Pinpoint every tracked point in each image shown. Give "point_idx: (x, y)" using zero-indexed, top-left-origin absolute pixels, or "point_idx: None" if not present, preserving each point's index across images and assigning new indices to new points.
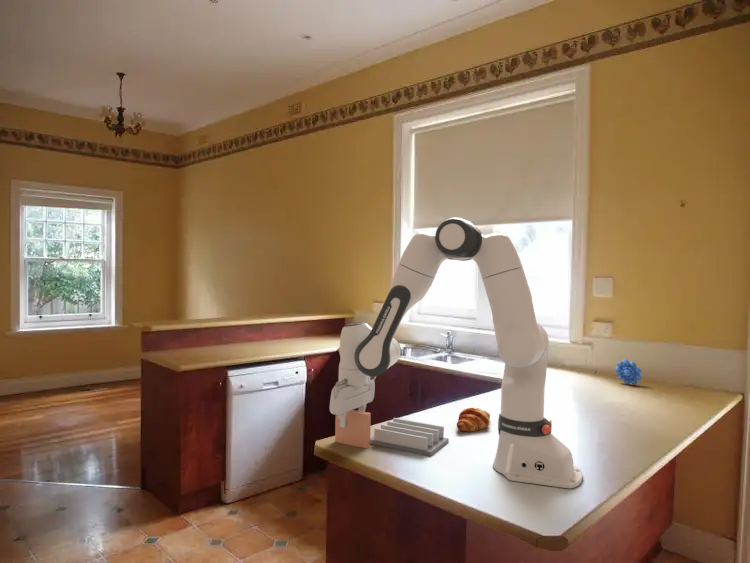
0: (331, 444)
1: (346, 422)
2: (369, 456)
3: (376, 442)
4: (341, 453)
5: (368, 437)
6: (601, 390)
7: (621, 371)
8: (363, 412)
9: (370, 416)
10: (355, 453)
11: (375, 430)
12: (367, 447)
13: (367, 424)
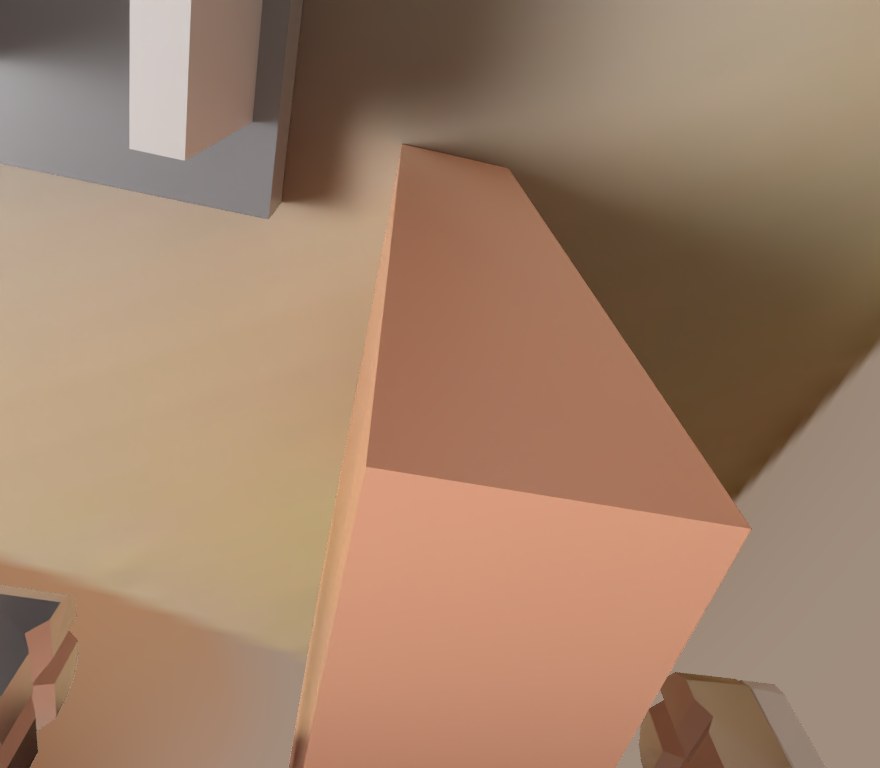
0: None
1: (761, 755)
2: (867, 5)
3: (288, 55)
4: (773, 418)
5: (473, 192)
6: None
7: None
8: (431, 748)
9: (398, 374)
10: (753, 260)
11: (203, 115)
12: (484, 164)
13: (594, 308)
